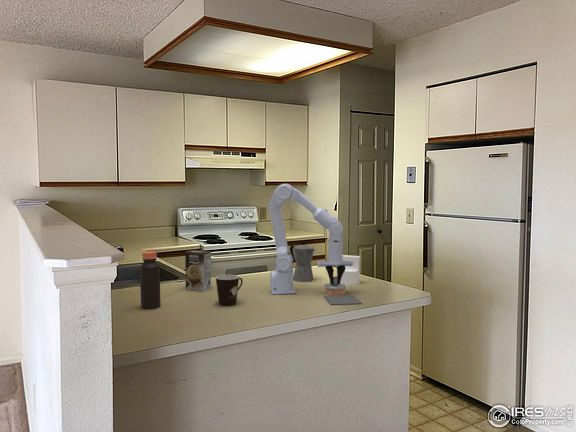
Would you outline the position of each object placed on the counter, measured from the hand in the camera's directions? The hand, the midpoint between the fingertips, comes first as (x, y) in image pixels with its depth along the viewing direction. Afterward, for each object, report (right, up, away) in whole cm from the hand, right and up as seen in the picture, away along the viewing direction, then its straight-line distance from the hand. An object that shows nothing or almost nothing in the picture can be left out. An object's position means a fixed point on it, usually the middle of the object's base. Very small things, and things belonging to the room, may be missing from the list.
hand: (335, 284), depth 186 cm
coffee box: (-56, -3, +6) cm, 57 cm away
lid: (0, -1, 0) cm, 1 cm away
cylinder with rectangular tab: (+8, -2, +19) cm, 21 cm away
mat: (+2, -5, -11) cm, 12 cm away
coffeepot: (-13, -2, +25) cm, 28 cm away
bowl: (0, -4, 0) cm, 4 cm away
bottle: (-69, -6, -20) cm, 72 cm away
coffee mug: (-40, -5, -15) cm, 43 cm away
